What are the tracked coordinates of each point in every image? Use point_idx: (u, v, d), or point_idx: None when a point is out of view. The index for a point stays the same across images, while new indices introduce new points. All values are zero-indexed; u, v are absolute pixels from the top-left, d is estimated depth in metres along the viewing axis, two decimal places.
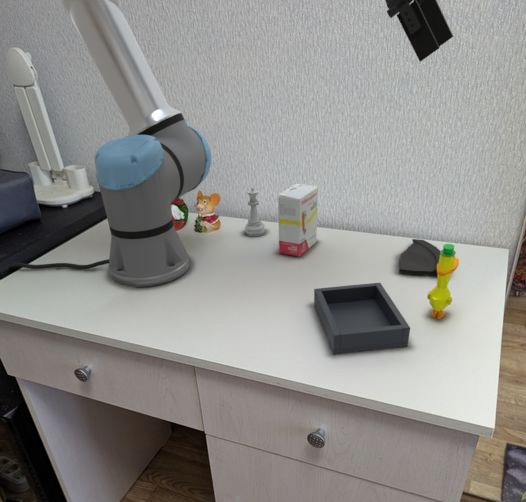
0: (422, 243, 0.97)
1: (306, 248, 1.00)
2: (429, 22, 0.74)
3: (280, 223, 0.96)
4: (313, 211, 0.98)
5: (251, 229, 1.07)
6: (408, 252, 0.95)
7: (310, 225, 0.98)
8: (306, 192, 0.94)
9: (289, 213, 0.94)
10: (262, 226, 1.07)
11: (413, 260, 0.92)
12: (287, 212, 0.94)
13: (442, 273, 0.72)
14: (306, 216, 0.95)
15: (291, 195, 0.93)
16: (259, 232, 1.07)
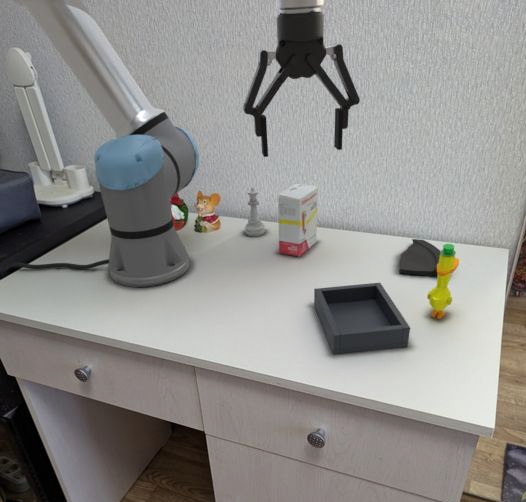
0: (422, 243, 0.97)
1: (306, 248, 1.00)
2: (335, 126, 0.89)
3: (280, 223, 0.96)
4: (313, 211, 0.98)
5: (251, 229, 1.07)
6: (408, 252, 0.95)
7: (310, 225, 0.98)
8: (306, 192, 0.94)
9: (289, 213, 0.94)
10: (262, 226, 1.07)
11: (413, 260, 0.92)
12: (288, 212, 0.94)
13: (442, 273, 0.72)
14: (306, 216, 0.95)
15: (291, 195, 0.93)
16: (259, 232, 1.07)
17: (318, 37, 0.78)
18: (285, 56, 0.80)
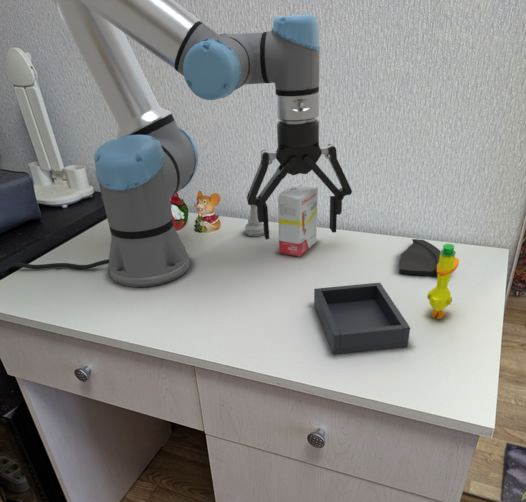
0: (422, 243, 0.97)
1: (306, 248, 1.00)
2: (330, 211, 0.98)
3: (280, 223, 0.96)
4: (313, 211, 0.98)
5: (251, 229, 1.07)
6: (408, 252, 0.95)
7: (310, 225, 0.98)
8: (306, 192, 0.94)
9: (289, 213, 0.94)
10: (262, 226, 1.07)
11: (413, 260, 0.92)
12: (288, 212, 0.94)
13: (442, 273, 0.72)
14: (306, 216, 0.95)
15: (291, 195, 0.93)
16: (259, 232, 1.07)
17: (314, 143, 0.87)
18: (284, 157, 0.90)
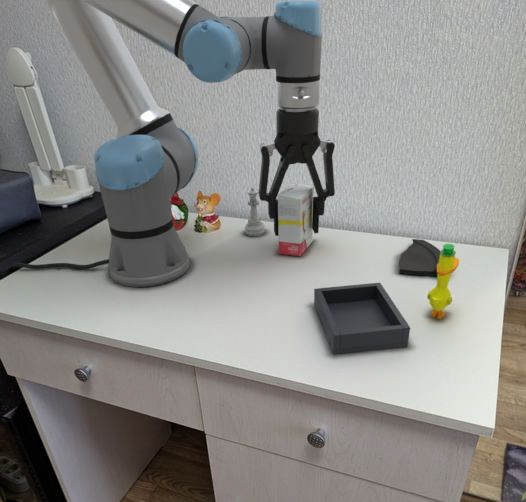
0: (422, 243, 0.97)
1: (305, 247, 1.00)
2: (313, 212, 0.98)
3: (280, 224, 0.95)
4: (310, 210, 0.98)
5: (251, 229, 1.07)
6: (408, 252, 0.95)
7: (308, 225, 0.98)
8: (304, 192, 0.94)
9: (289, 213, 0.94)
10: (262, 226, 1.07)
11: (413, 260, 0.92)
12: (288, 212, 0.94)
13: (442, 273, 0.72)
14: (305, 216, 0.96)
15: (291, 195, 0.93)
16: (259, 232, 1.07)
17: (313, 132, 0.86)
18: (283, 145, 0.89)
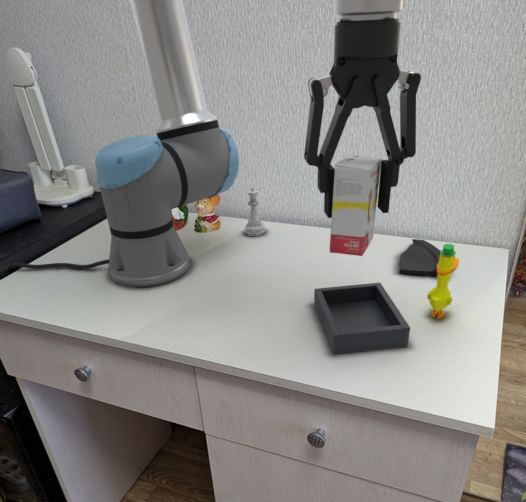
0: (422, 243, 0.97)
1: (367, 245, 0.70)
2: (381, 182, 0.68)
3: (335, 208, 0.66)
4: (376, 192, 0.69)
5: (251, 229, 1.07)
6: (408, 252, 0.95)
7: (372, 212, 0.69)
8: (372, 162, 0.65)
9: (351, 192, 0.64)
10: (262, 226, 1.07)
11: (413, 260, 0.92)
12: (349, 190, 0.64)
13: (442, 273, 0.72)
14: (371, 198, 0.66)
15: (354, 165, 0.63)
16: (259, 232, 1.07)
17: (392, 53, 0.57)
18: (344, 78, 0.59)
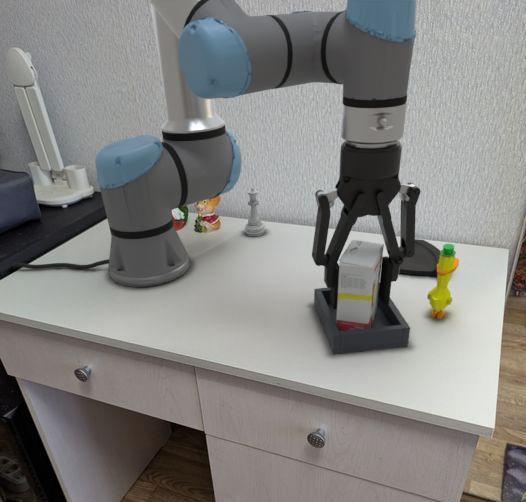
0: (422, 243, 0.97)
1: (371, 325, 0.74)
2: (382, 276, 0.73)
3: (340, 298, 0.69)
4: (379, 276, 0.72)
5: (251, 229, 1.07)
6: None
7: (376, 296, 0.72)
8: (374, 254, 0.68)
9: (355, 285, 0.67)
10: (262, 226, 1.07)
11: (413, 260, 0.92)
12: (353, 284, 0.67)
13: (442, 273, 0.72)
14: (375, 287, 0.69)
15: (358, 261, 0.66)
16: (259, 232, 1.07)
17: (394, 174, 0.61)
18: (349, 193, 0.63)
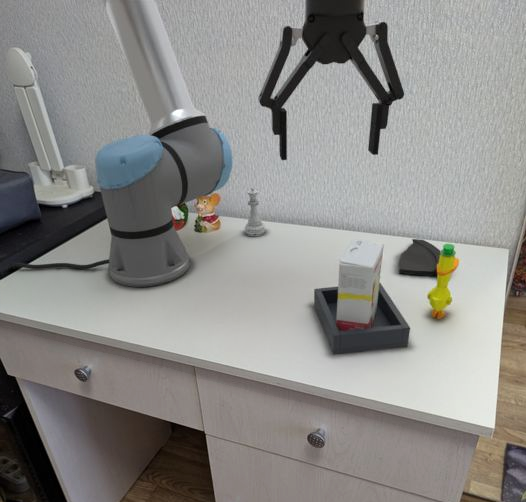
0: (422, 243, 0.97)
1: (371, 325, 0.74)
2: (371, 125, 0.72)
3: (340, 298, 0.69)
4: (379, 276, 0.72)
5: (251, 229, 1.07)
6: (408, 252, 0.95)
7: (376, 296, 0.72)
8: (374, 254, 0.68)
9: (355, 285, 0.67)
10: (262, 226, 1.07)
11: (413, 260, 0.92)
12: (353, 284, 0.67)
13: (442, 273, 0.72)
14: (375, 287, 0.69)
15: (358, 261, 0.66)
16: (259, 232, 1.07)
17: (358, 11, 0.61)
18: (314, 35, 0.64)
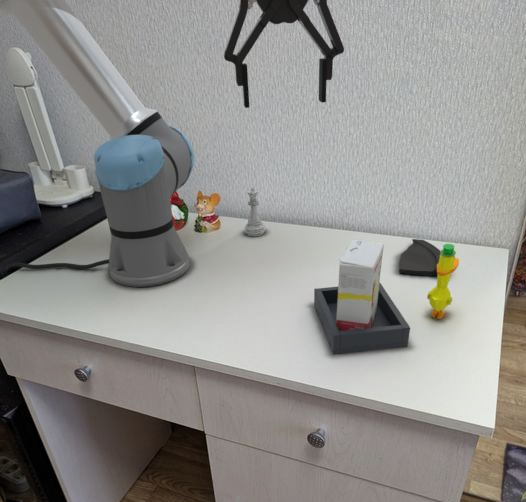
0: (422, 243, 0.97)
1: (371, 325, 0.74)
2: (319, 77, 0.86)
3: (340, 298, 0.69)
4: (379, 276, 0.72)
5: (251, 229, 1.07)
6: (408, 252, 0.95)
7: (376, 296, 0.72)
8: (374, 254, 0.68)
9: (355, 285, 0.67)
10: (262, 226, 1.07)
11: (413, 260, 0.92)
12: (353, 284, 0.67)
13: (442, 273, 0.72)
14: (375, 287, 0.69)
15: (358, 261, 0.66)
16: (259, 232, 1.07)
17: None
18: None
